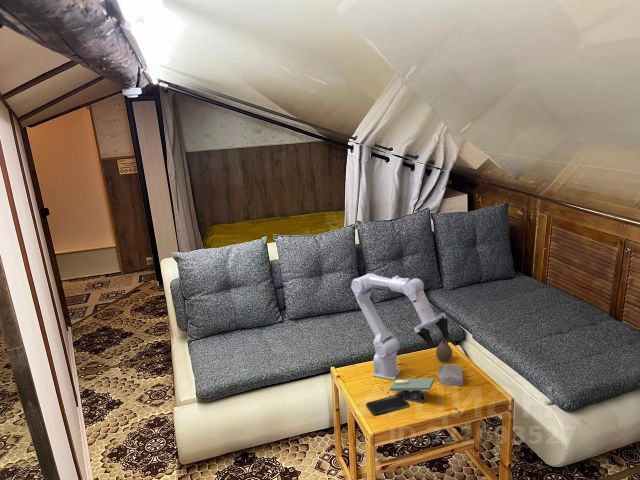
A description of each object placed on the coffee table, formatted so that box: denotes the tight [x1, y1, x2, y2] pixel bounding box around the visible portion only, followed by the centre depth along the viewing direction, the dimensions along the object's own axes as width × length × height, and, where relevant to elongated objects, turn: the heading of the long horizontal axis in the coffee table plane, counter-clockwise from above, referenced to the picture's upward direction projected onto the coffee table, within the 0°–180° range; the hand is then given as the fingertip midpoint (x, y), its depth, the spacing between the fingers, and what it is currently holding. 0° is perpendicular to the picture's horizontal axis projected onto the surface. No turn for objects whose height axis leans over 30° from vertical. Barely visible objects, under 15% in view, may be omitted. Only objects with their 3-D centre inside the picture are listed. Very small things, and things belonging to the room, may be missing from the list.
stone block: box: [437, 364, 464, 387], centre depth 189 cm, size 12×5×10 cm
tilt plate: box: [389, 377, 435, 392], centre depth 178 cm, size 16×7×3 cm, turn 62°
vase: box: [435, 340, 453, 363], centre depth 203 cm, size 7×7×9 cm
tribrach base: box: [397, 390, 428, 404], centre depth 178 cm, size 10×7×3 cm
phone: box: [365, 394, 410, 417], centre depth 174 cm, size 8×1×15 cm
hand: (440, 342), depth 172 cm, fingers open, 7 cm apart
